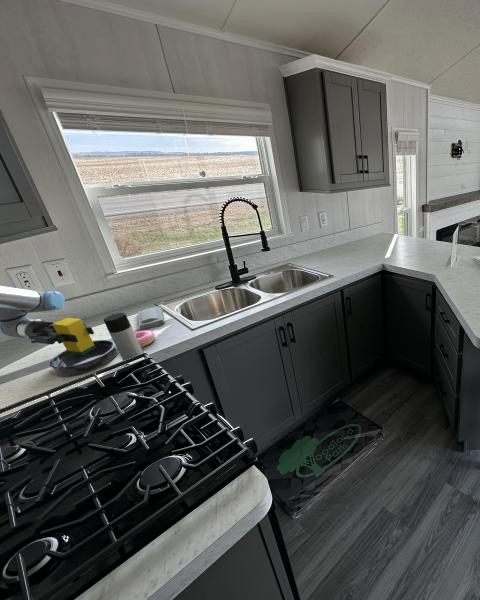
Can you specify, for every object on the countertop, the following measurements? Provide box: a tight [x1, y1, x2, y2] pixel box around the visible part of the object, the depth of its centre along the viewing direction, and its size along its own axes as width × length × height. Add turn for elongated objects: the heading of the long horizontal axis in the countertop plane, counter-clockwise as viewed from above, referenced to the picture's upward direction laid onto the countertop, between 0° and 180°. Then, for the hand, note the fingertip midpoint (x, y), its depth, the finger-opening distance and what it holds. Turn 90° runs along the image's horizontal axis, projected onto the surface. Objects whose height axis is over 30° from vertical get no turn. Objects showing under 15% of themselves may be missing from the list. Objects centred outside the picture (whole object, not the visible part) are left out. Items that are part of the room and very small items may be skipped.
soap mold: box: [137, 305, 166, 331], centre depth 160 cm, size 10×20×4 cm, turn 37°
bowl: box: [49, 339, 119, 377], centre depth 128 cm, size 19×19×4 cm
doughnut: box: [134, 329, 156, 348], centre depth 139 cm, size 11×11×4 cm
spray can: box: [103, 312, 144, 362], centre depth 124 cm, size 7×7×20 cm
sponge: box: [52, 317, 96, 355], centre depth 124 cm, size 7×5×13 cm
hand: (83, 334), depth 123 cm, fingers closed on sponge, 5 cm apart
